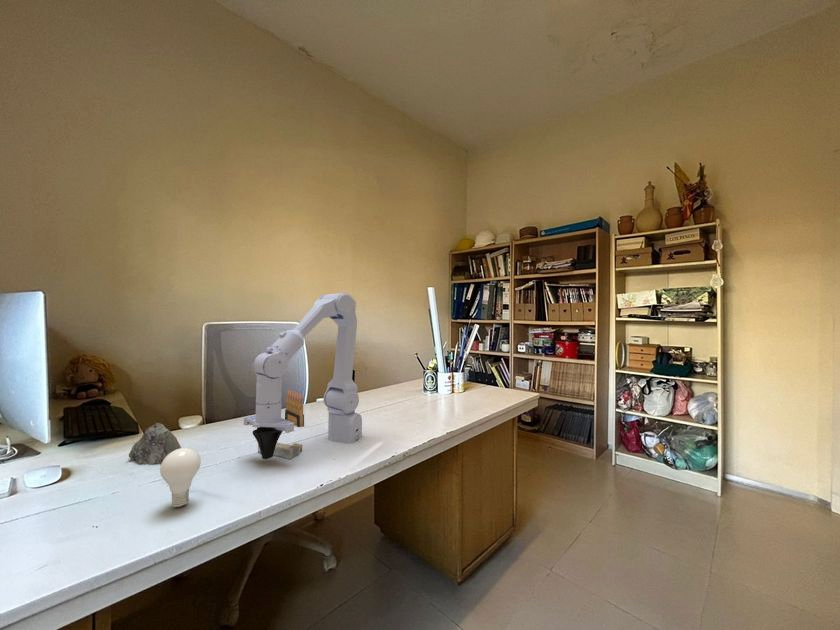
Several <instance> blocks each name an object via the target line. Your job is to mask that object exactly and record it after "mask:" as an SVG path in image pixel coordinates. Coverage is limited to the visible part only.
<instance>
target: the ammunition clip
mask: <svg viewBox="0 0 840 630" xmlns="http://www.w3.org/2000/svg"><path fill="white" fill-rule="evenodd" d="M284 419H285V420H287V421H290V422H293V423H294V427H295V426H296V427H297V428H302V427H303V428H304V427H305V414H304V404H303V394H302V393H300V392H297V391H294V390H291V389H288V390H287V392H286V402H285V409H284Z"/></svg>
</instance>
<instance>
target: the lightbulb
mask: <svg viewBox="0 0 840 630" xmlns="http://www.w3.org/2000/svg"><path fill="white" fill-rule="evenodd" d="M201 459H202V458H201V456H200V454H199V453H198V451H196V450H195V449H193V448H191V447H181V448H180V449H176V450H174V451H172V452H171V453H169V454H168V455H167V456H166V457H165V458H164V460H163V462H162V464H160V467H159V473H160V476H161V478H162V479H163V481H165V483H167V485H168V487H169V490H170V492H171V506H172V508H173V507H174V508H182V507H184V506H186V504H188V503H189V501H190V499H189V498H190V497H189V495H190V488H191V485H192V482H193V480H194V478H195V476H196V475H197V474H198V471H199V470H200V468H201V463H202V461H201Z"/></svg>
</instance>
